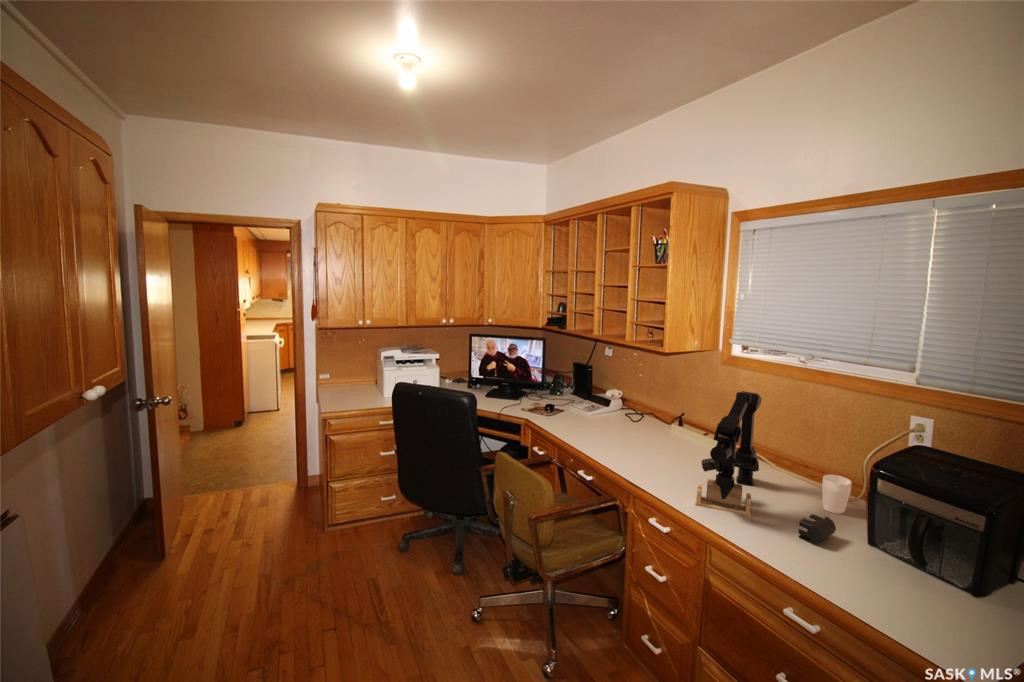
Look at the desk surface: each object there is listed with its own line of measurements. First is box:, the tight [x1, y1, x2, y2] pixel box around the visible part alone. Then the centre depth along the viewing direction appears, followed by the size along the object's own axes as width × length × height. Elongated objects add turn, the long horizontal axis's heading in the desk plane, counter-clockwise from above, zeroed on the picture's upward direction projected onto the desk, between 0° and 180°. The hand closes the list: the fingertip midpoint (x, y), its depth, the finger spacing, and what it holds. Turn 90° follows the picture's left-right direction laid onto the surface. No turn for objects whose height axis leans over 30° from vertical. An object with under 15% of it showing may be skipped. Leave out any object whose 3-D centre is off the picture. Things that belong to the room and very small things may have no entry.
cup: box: [821, 474, 852, 515], centre depth 181 cm, size 9×9×12 cm
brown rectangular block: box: [705, 478, 743, 506], centre depth 183 cm, size 5×12×6 cm, turn 65°
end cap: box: [797, 513, 837, 545], centre depth 162 cm, size 10×7×7 cm
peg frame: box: [694, 483, 752, 517], centre depth 183 cm, size 7×19×6 cm, turn 65°
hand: (723, 493), depth 183 cm, fingers open, 9 cm apart
